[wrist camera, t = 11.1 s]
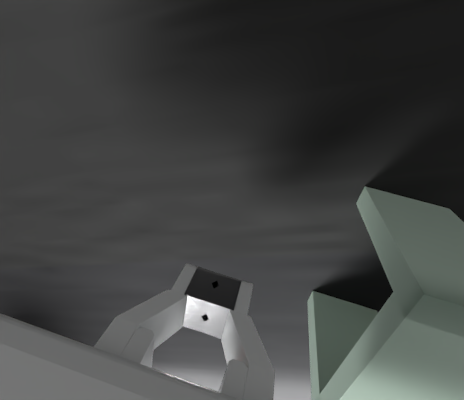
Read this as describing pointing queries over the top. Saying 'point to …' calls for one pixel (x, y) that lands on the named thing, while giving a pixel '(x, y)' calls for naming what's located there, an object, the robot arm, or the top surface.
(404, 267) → the sleeve
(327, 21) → the top surface
